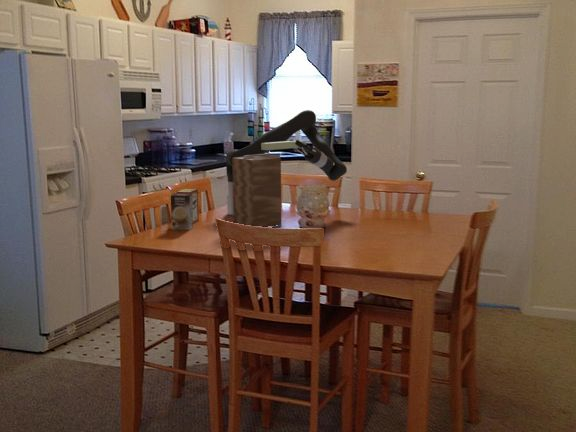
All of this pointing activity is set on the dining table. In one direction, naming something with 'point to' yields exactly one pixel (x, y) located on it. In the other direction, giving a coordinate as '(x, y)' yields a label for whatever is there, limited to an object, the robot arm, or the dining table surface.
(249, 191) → the shelf stand
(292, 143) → the sage bar
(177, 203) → the coffee box
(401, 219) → the dining table surface
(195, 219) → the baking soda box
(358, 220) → the dining table surface
